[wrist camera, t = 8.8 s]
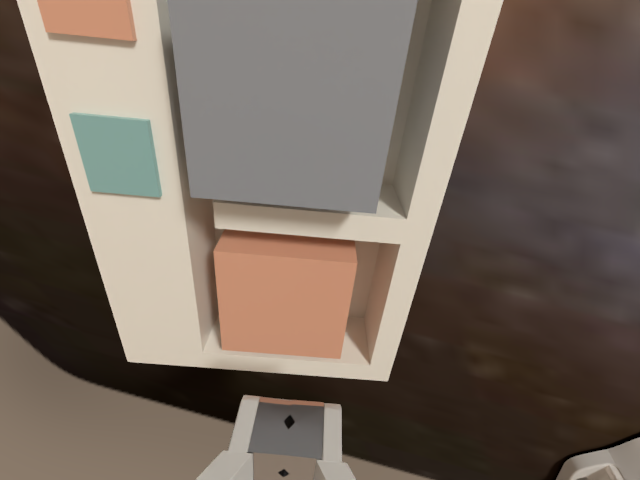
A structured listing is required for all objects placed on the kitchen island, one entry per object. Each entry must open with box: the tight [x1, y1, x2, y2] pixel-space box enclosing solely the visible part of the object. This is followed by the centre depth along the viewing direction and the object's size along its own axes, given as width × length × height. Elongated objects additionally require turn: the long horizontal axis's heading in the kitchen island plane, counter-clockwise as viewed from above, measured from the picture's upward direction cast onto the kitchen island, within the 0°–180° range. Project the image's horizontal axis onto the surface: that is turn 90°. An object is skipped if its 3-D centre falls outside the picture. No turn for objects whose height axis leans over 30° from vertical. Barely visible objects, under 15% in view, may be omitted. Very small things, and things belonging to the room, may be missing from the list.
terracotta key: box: [213, 229, 358, 359], centre depth 15 cm, size 5×5×3 cm
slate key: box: [167, 0, 418, 214], centre depth 10 cm, size 5×5×3 cm
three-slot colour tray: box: [17, 0, 503, 381], centre depth 12 cm, size 24×12×5 cm, turn 175°
